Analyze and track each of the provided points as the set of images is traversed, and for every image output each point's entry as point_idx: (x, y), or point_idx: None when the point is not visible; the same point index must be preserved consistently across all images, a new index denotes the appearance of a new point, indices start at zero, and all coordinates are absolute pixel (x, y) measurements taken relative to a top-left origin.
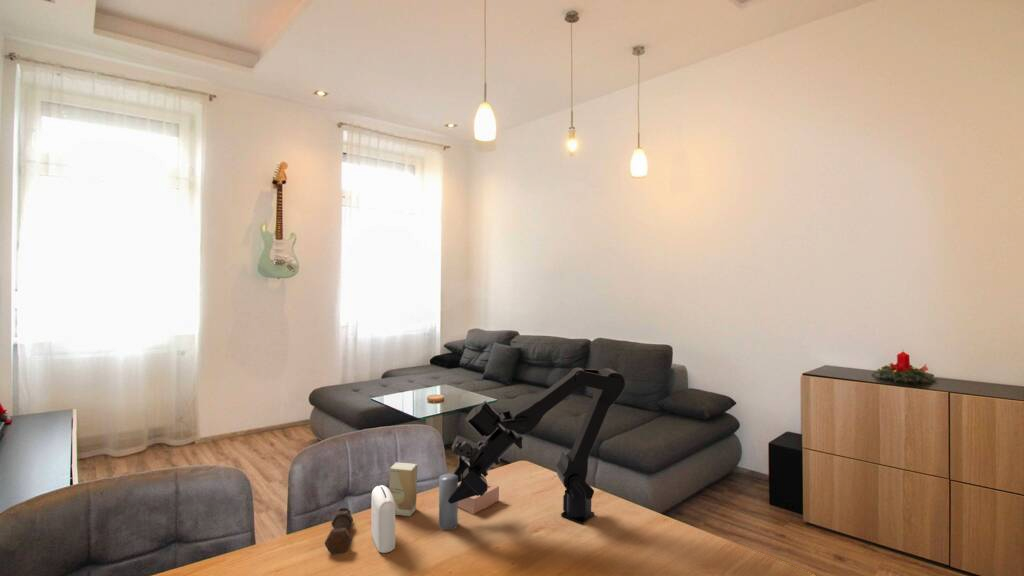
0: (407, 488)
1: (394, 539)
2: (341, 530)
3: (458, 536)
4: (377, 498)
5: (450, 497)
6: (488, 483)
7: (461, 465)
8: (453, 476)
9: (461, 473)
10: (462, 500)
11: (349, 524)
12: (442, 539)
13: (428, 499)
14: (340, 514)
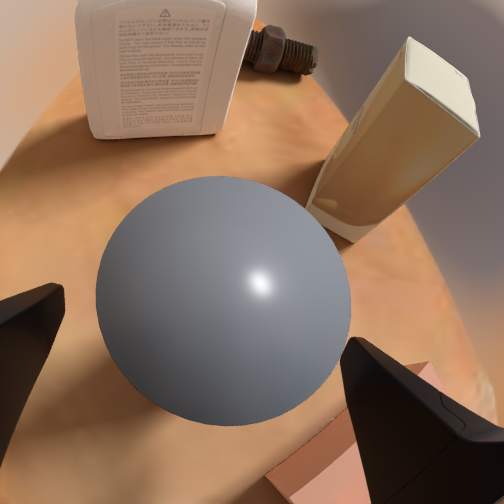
0: (356, 136)
1: (89, 116)
2: None
3: (86, 370)
4: None
5: (30, 291)
6: None
7: (467, 469)
8: (247, 363)
9: (403, 461)
10: (340, 436)
11: (257, 61)
12: (85, 300)
13: (414, 298)
14: (265, 28)
